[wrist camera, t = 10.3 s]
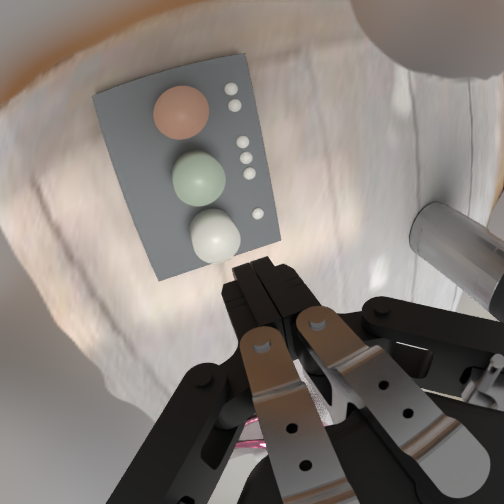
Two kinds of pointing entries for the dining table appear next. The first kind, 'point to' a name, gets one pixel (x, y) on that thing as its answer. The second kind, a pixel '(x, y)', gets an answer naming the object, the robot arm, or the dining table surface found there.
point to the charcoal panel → (168, 150)
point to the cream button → (214, 236)
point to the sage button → (198, 178)
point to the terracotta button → (181, 112)
